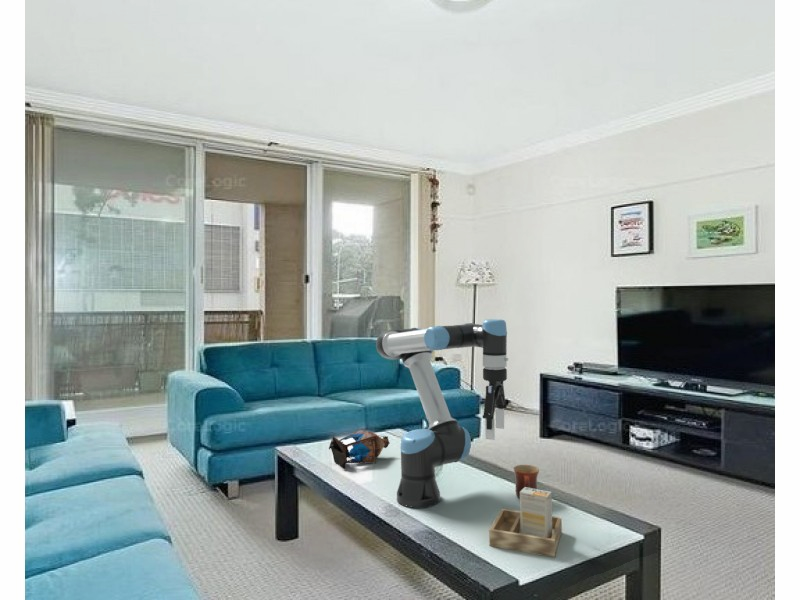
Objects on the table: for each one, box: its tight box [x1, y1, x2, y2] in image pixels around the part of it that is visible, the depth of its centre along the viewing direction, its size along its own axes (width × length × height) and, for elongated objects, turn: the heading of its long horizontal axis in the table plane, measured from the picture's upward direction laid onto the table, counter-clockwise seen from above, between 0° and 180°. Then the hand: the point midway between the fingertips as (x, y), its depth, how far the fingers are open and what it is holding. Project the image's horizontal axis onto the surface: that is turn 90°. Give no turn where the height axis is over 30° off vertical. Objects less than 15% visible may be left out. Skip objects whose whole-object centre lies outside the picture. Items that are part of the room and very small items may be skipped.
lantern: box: [328, 428, 391, 469], centre depth 230 cm, size 16×16×25 cm
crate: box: [488, 508, 563, 558], centre depth 157 cm, size 18×16×4 cm
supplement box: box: [519, 487, 553, 539], centre depth 156 cm, size 8×5×13 cm, turn 56°
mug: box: [513, 464, 540, 500], centre depth 185 cm, size 12×9×10 cm
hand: (495, 433), depth 173 cm, fingers open, 13 cm apart
